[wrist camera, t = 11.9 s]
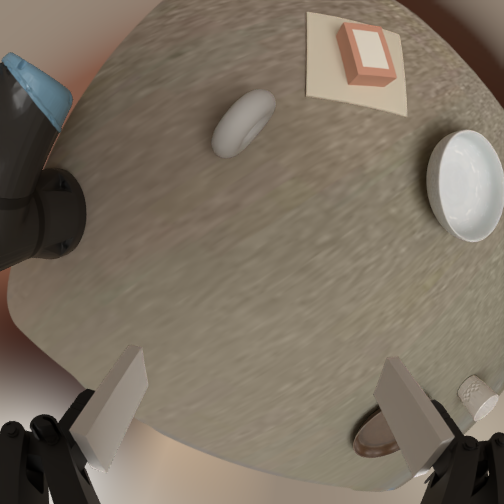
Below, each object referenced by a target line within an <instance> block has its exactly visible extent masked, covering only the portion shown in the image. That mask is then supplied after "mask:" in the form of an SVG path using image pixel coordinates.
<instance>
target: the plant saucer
mask: <svg viewBox="0 0 504 504" xmlns="http://www.w3.org/2000/svg"><path fill="white" fill-rule="evenodd" d="M428 398H429V397H428ZM429 399H430V401H431V400H432V399H431V398H429ZM353 449H354V451H355V453H356V454H357V455H359V456H361V457H366V458H375V457H381V456H385V455H388V454H391V453H394V452H396V451H398V450H400V448H399V446H398V443H397V441H396V439H395V437H394V435H393V433H392V431H391V429H390V427H389V425H388V423H387V421H386V419H385V417H384V415H383V413H382V411H381V409H378V410H377V411H375V412H374V413H373V414H372V415H371V416H370V417H369V418H368V419H367V420H366V421H365V422H364V423H363V424H362V426H361V427H360V429H359V430H358V432H357V434H356V436H355V439H354V442H353Z"/></svg>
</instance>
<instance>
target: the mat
mask: <svg viewBox="0 0 504 504" xmlns="http://www.w3.org/2000/svg"><path fill="white" fill-rule="evenodd" d="M343 22H348V23H357V24H363V23H360V22H356V21H352V20H348V19H343V18H339V17H334V16H329V15H323V14H318V13H311V12H307V13H306V27H307V56H306V97H310V98H317V99H324V100H330V101H336V102H342V103H347V104H352V105H357V106H362V107H367V108H371V109H375V110H380V111H384V112H388V113H391V114H395V115H399V116H402V117H407V99H406V84H405V73H404V63H403V55H402V48H401V41H400V35H399V34H396V33H393V32H390V31H387V30H384V29H382V31H383V34H384V36H385V39H386V42H387V45H388V48H389V52H390V55H391V58H392V62H393V65H394V69H395V72H396V76H397V78H396V79H395V80H394V81H392V82H391V83H389V84H388V85H386V86H385V87H376V86H359V85H348V82H347V78H346V73H345V69H344V65H343V61H342V57H341V53H340V50H339V46H338V42H337V39H336V34H337V33H338V31H339V29H340V27H341V25H342V24H343ZM365 25H367V24H365Z"/></svg>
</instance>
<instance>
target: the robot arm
mask: <svg viewBox="0 0 504 504" xmlns="http://www.w3.org/2000/svg"><path fill="white" fill-rule="evenodd" d="M72 101H73V98H72V95H71V92H70V91H69V90H68V89H67V88H66V87H65V86H63V85H62V84H60V83H59V82H58V81H56V80H55V79H53V78H52V77H50V76H49V75H47V74H46V73H44V72H43V71H41V70H40V69H38V68H37V67H35V66H34V65H32V64H30V63H28V62H27V61H25V60H24V59H22V58H21V57H19V56H18V55H16V54H14V53H11V52H10V53H8V54H7V55H6V56H5V57H3V59H2V63H0V271H2V270H4V269H6V268H9V267H11V266H13V265H15V264H17V263H20V262H22V261H24V260H26V259H29V258H31V257H32V258H42V259H57V258H60V257H62V256H65V255H67V254H69V253H70V252H72V251H73V250H74V249H75V248H76V247H77V245H78V244H79V242H80V240H81V238H82V235H83V232H84V228H85V223H86V205H85V199H84V196H83V192H82V190H81V188H80V186H79V184H78V182H77V181H76V179H75V178H74V177H73V176H72V175H71V174H70V173H68V172H67V171H65V170H62V169H44V170H42V169H43V166H44V164H45V162H46V160H47V157H48V155H49V153H50V151H51V148H52V146H53V144H54V142H55V140H56V138H57V136H58V134H59V133H60V132H61V130H62V128H61V127H62V125H63V123H64V120H65V118H66V116H67V114H68V112H69V110H70V108H71V105H72ZM147 388H148V380H147V375H146V369H145V363H144V357H143V350H142V347H140V346H134V345H128V347H127V348H126V349H125V351H124V352H123V354H122V355H121V356H120V358H119V359H118V360H117V362H116V363H115V365H114V366H113V367H112V369H111V370H110V371H109V373H108V374H107V376H106V377H105V378H104V380H103V381H102V383H101V384H100V386H99V387H98V388H97V390H96V391H94V390H90V389H86V390H85V391H83V392H82V393H80V394H79V395H78V396H77V398H76V399H75V401H74V403H72V405H71V406H70V408H69V409H68V410H67V411H66V413H65V414H64V416H63V417H62V418H61V420H60V421H59V423H58V422H57V421H56V419H55V418H54V417H53V416H50V415H45V414H42V415H39V416H36V417H35V418H34V419H33V420H32V421H31V423H30V429H31V430H32V432H29V431H25V429H24V428H23V426H22V425H21V424H20V423H19V422H15V421H9V422H7V423H5V424H4V425H3V426H2V428H1V431H0V504H49V493H48V492H49V491H48V487H49V490H50V494H51V497H52V500H53V503H54V504H100V502H99V499H98V497H97V495H96V493H95V491H94V488H93V486H92V484H91V481H90V479H89V476H88V473H87V471H86V469H85V465H86V463H87V462H88V463H89V465H90V466H91V468H93V469H95V470H98V471H101V472H104V473H107V472H108V470H109V468H110V465H111V463H112V461H113V458H114V457H115V454H116V452H117V450H118V448H119V446H120V444H121V442H122V439H123V437H124V435H125V433H126V431H127V429H128V427H129V424H130V422H131V420H132V418H133V416H134V414H135V412H136V410H137V408H138V406H139V404H140V402H141V400H142V398H143V396H144V394H145V392H146V390H147ZM373 395H374V397H375V399H376V401H377V403H378V405H379V407H380V409H381V411H382V413H383V415H384V417H385V419H386V421H387V423H388V425H389V427H390V429H391V431H392V433H393V435H394V437H395V439H396V441H397V443H398V446H399V448H400V450H401V452H402V454H403V456H404V458H405V461H406V463H407V465H408V467H409V469H410V472H411V474H412V476H413V478H414V477H417V476H420V475H423V474H425V473H427V472H428V470H429V469H430V468H431V467H432V466H433V468H434V470H435V471H434V472H433V473H432V474H431V475H430V476H429V477H428V478H427V480H426V481H425V483H427V482H428V481H429V480H430V481H429V483H428V486H427V489H426V492H425V494H424V496H423V499H422V501H421V504H504V433H501V432H498V433H495V434H493V435H492V437H491V438H490V439H489V440H488V441H479V442H478V441H477V439H475V438H474V437H471V436H464V435H463V434H462V432H461V431H460V429H459V428H458V427H457V425H456V424H455V422H454V421H453V419H452V418H450V415H449V414H448V413H447V411H446V410H445V408H444V407H443V405H442V404H440V403H439V402H437V401H436V400H431V401H430V399H429V398H428V397H427V395H426V394H425V392H424V391H423V390H422V388H421V387H420V385H419V384H418V383H417V381H416V380H415V379H414V377H413V376H412V374H411V373H410V372H409V370H408V369H407V368H406V366H405V365H404V364H403V362H402V361H401V360H400V358H399V357H398V356H397V357H387V358H386V361H385V364H384V367H383V370H382V373H381V375H380V378H379V381H378V384H377V386H376V389H375V391H374V394H373ZM488 471H489V476H488Z"/></svg>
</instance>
